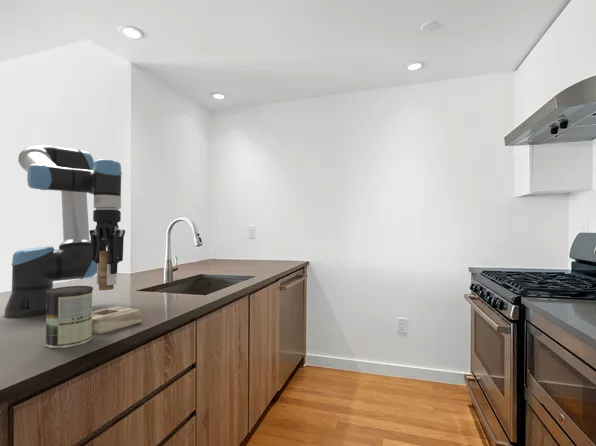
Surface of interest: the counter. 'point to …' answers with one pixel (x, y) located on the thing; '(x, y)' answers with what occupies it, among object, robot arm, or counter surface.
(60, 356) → the counter surface
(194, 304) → the counter surface
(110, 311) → the maple block
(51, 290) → the coffee can
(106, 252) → the oak peg
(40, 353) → the counter surface
